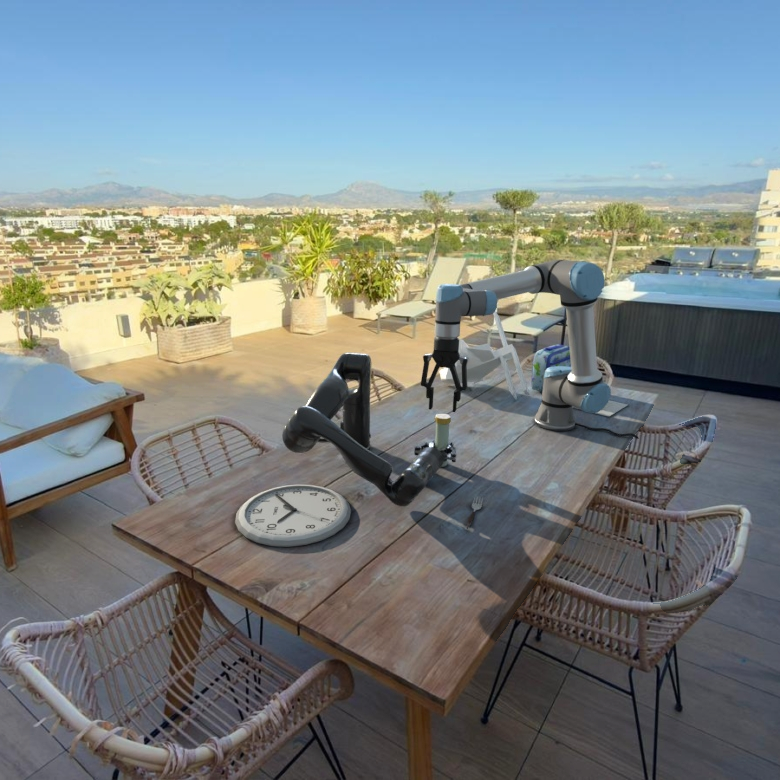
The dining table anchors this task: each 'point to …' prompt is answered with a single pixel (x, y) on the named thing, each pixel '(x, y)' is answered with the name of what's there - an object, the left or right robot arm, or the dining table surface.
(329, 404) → the left robot arm
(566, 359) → the lunch box
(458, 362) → the white plastic object
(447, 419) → the lid
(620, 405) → the invitation card
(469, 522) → the fork
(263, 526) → the wall clock
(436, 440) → the jar
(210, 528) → the dining table surface
